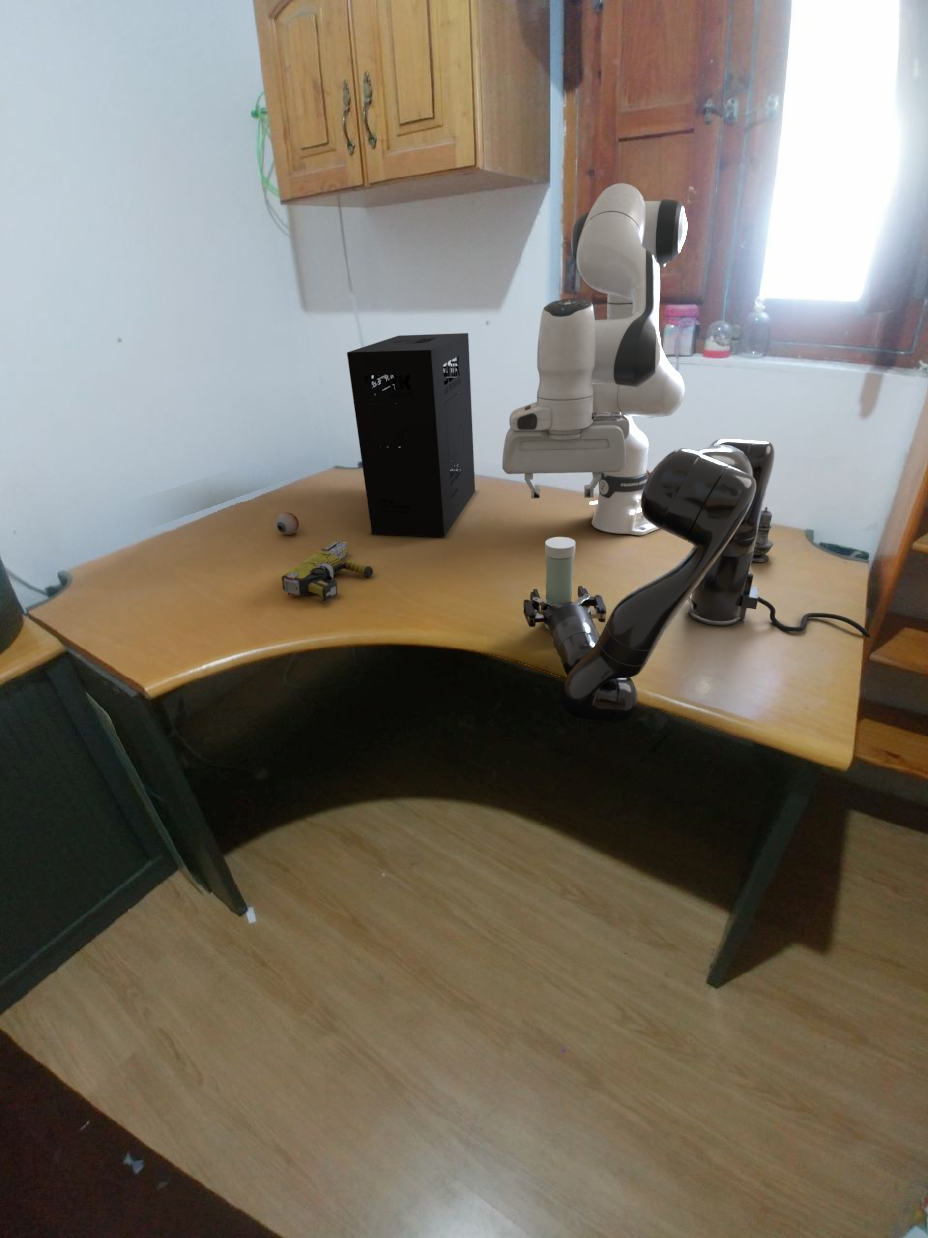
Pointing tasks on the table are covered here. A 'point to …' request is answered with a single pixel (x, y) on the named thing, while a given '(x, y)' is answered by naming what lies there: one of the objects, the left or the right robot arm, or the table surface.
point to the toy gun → (321, 572)
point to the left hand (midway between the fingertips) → (561, 497)
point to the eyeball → (287, 523)
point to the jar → (559, 580)
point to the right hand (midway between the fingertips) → (557, 591)
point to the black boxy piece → (414, 431)
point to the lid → (560, 547)
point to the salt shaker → (763, 537)
